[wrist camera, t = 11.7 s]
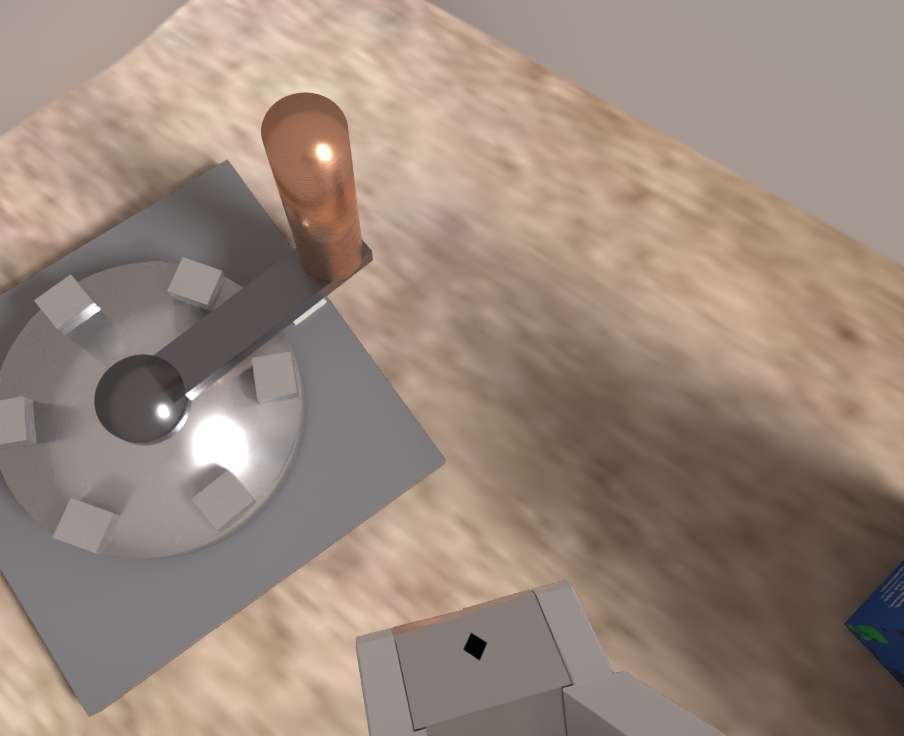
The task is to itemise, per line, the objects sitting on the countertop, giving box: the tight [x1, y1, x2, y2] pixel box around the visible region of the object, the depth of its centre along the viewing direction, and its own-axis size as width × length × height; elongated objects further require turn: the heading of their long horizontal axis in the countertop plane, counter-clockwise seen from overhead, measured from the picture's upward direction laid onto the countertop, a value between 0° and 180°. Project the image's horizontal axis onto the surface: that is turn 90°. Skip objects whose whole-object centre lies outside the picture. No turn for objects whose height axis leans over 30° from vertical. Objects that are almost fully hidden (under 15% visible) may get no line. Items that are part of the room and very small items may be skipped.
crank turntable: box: [0, 93, 373, 558], centre depth 34 cm, size 20×14×15 cm
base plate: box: [0, 159, 445, 717], centre depth 42 cm, size 20×20×2 cm
